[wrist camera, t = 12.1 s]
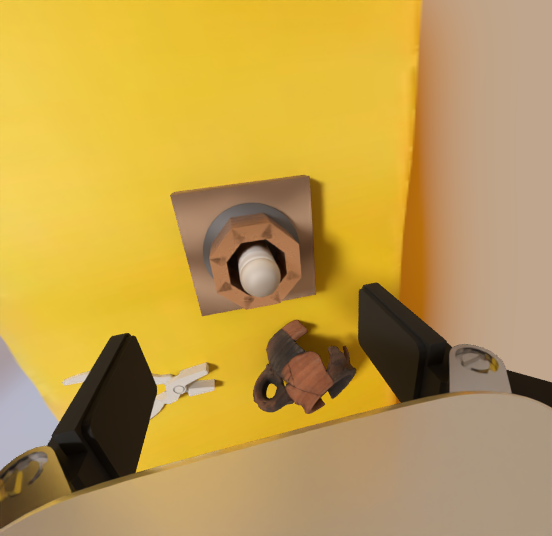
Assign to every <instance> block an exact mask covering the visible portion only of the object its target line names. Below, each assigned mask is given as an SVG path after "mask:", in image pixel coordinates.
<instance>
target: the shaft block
mask: <svg viewBox="0 0 552 536" xmlns="http://www.w3.org/2000/svg"><path fill="white" fill-rule="evenodd" d="M170 196H171V200H172V204H173V207H174V211H175V215H176V219H177V222H178V226H179V230H180V234H181V238H182V241H183V245H184V249H185V253H186V257H187V260H188V264H189V268H190V272H191V276H192V279H193V283H194V287H195V291H196V295H197V298H198V302H199V306H200V310H201V314H202V316H206V315H211V314H216V313H221V312H226V311H232V310H237V309H242V308H243V307H241V306H239V305H238V304H236V303H234V302H232V301H231V300H229V299H227V298H225V297H224V296H222V295H220V294H218V293H217V291H216V287H215V282H214V278H213V273H212V269H211V265H210V260H209V257H210V250H211V243H212V242H213V241H214V239H215V238H216V236H217V235H218V234H219V232H220V231H221V229H222V228H223V227H224V225H225V224H226V223H227V221H228V220H229V218H230V217H236V216H243V215H250V214H257V213H264V214H266V215H267V216H268V217H270V218H271V219H272V220H273V221H275V222H276V223H277V224H279V225H280V226H281V227H283V228H284V229H285V230H287V231H288V232H289V233H290V235H291V236H292V237H293V238H294V239H295V240H296V241H297V243H298V244H299V251H300V264H301V279H300V280H299V281H298V282H297V283H296V285H295V286H294V287H293V288H292V289H291V290H290V292H289V293H288V294H287V295H286V296H285V298H284V299H283V300H282V301H284V300H289V299H294V298H300V297H305V296H310V295H315V294H316V284H315V266H314V248H313V229H312V211H311V193H310V176H305V175H300V176H292V177H285V178H277V179H270V180H262V181H255V182H247V183H239V184H232V185H224V186H217V187H209V188H202V189H194V190H187V191H179V192H174V193H172V194H171V195H170ZM277 258H278V255H277V247H276V246H275V245H273V244H272V243H271V242H269V241H268V240H266V239H264V240H257V241H251V242H245V243H241V244H240V245H239V246H238V248H237V249H236V250H235V252H234V253H233V254H232V256H231V257H230V258H229V265H230V266H231V267H232V268H234V269H236V270H237V271H239V275H240V281H241V285H242V287H243V288H244V290H245V291H246V292H247V293H249V294H250V295H252V296H255V297H266V296H269V295H271V294H272V293H273V292H274V291H275V290H276V289H277V288H278V286H279V284H280V279H281V275H280V271H279V268H278V266H277V264H276V262H275V260H276V259H277Z"/></svg>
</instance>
